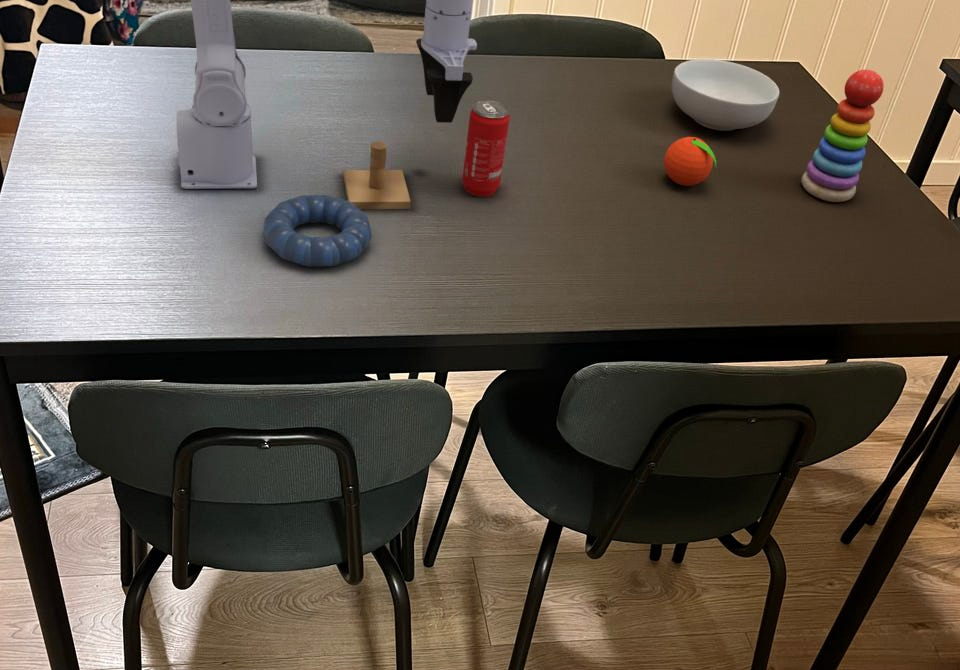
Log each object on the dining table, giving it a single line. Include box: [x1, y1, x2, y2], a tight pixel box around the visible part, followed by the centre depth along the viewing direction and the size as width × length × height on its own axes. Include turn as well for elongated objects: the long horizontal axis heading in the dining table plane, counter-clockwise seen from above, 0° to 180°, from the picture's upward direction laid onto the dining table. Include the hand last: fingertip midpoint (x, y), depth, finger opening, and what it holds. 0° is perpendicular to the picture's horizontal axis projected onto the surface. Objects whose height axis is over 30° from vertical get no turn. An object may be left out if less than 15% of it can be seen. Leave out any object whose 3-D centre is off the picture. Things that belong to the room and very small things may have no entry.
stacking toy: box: [801, 69, 885, 203], centre depth 137 cm, size 8×8×19 cm
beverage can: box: [461, 100, 511, 198], centre depth 128 cm, size 5×5×12 cm
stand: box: [342, 141, 411, 211], centre depth 126 cm, size 8×8×7 cm
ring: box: [263, 194, 372, 268], centre depth 117 cm, size 13×13×3 cm
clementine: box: [663, 136, 717, 187], centre depth 138 cm, size 8×7×7 cm
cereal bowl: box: [671, 58, 780, 132], centre depth 155 cm, size 17×17×7 cm
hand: (439, 107), depth 127 cm, fingers open, 7 cm apart
